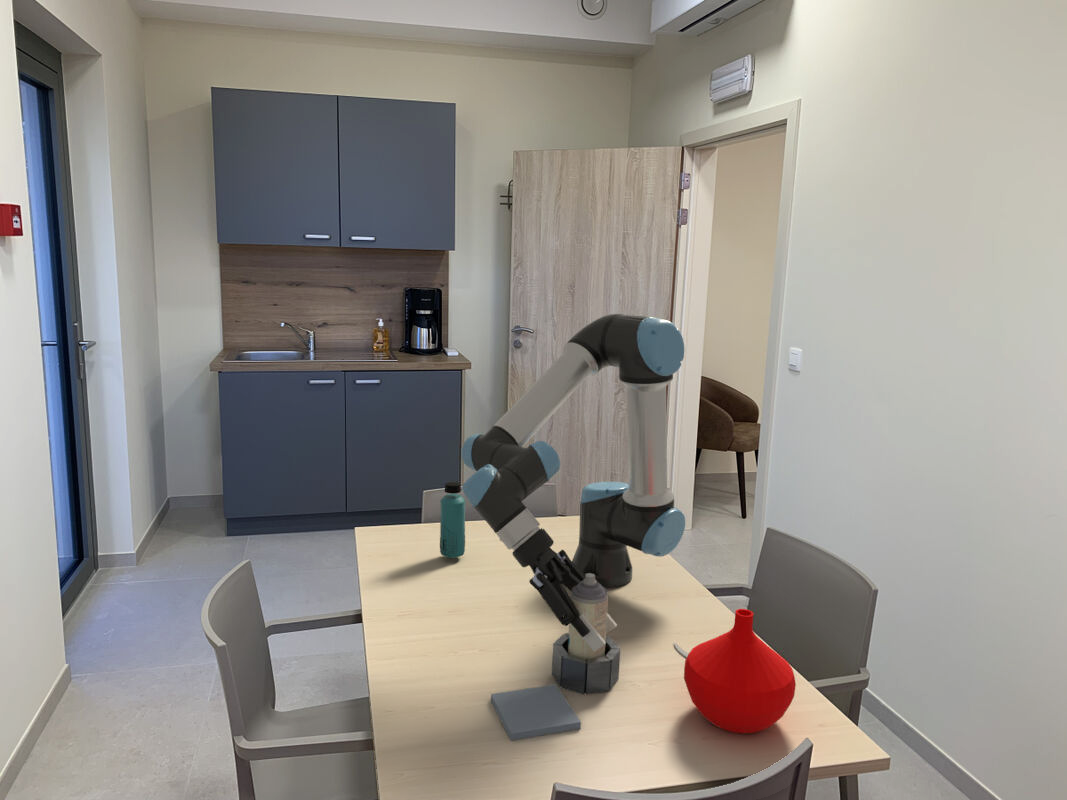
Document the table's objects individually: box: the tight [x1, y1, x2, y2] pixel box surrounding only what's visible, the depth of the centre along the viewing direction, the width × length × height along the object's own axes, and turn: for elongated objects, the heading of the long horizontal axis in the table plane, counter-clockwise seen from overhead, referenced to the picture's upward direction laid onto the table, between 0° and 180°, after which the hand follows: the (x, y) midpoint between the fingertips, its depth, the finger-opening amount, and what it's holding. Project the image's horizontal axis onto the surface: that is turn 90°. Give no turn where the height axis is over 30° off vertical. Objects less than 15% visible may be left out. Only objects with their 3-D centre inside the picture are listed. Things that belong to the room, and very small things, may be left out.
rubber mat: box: [490, 683, 582, 741], centre depth 134 cm, size 12×12×1 cm
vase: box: [683, 608, 797, 735], centre depth 134 cm, size 18×18×19 cm
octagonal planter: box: [551, 632, 621, 695], centre depth 146 cm, size 12×12×6 cm
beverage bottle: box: [439, 481, 466, 558], centre depth 199 cm, size 6×7×20 cm
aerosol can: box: [568, 573, 609, 659], centre depth 145 cm, size 7×7×20 cm
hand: (605, 638), depth 144 cm, fingers closed on aerosol can, 7 cm apart
